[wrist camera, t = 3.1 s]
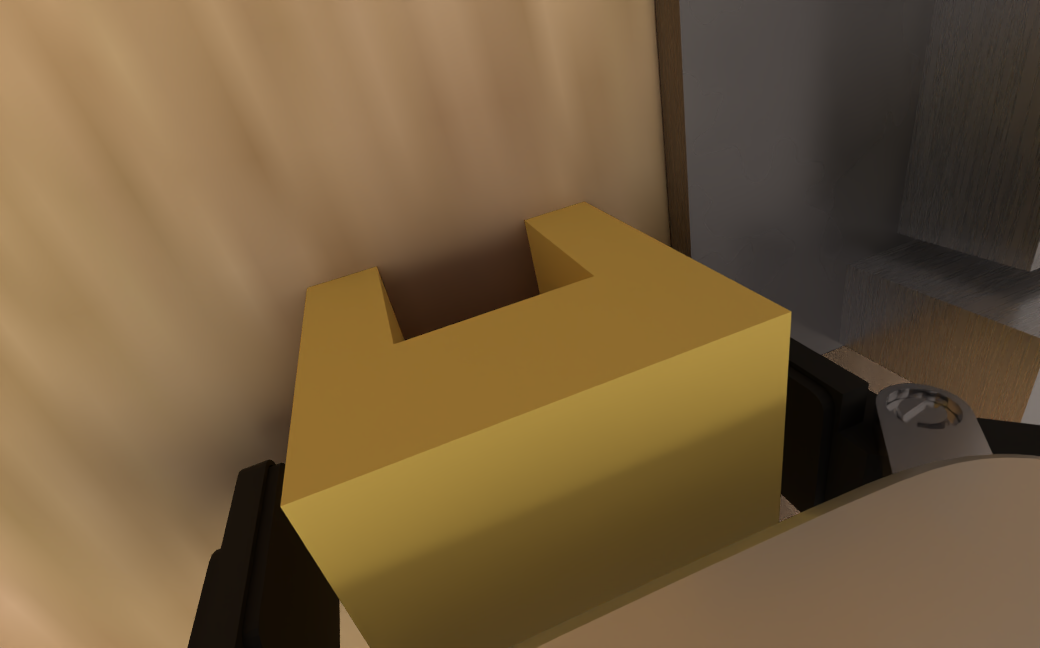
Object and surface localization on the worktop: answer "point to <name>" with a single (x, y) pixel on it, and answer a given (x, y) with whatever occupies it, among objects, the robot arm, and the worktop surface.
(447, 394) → the notched yellow block
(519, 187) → the worktop surface
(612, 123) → the worktop surface
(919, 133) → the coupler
